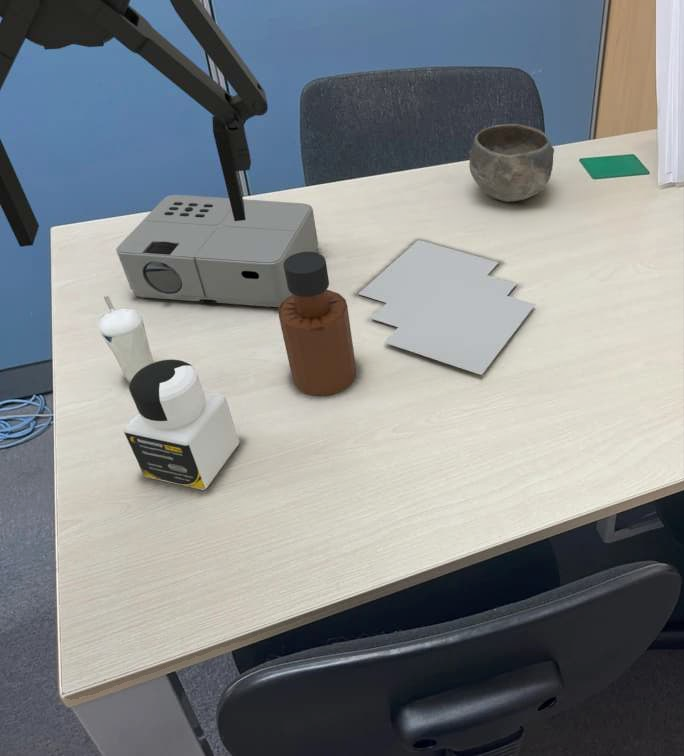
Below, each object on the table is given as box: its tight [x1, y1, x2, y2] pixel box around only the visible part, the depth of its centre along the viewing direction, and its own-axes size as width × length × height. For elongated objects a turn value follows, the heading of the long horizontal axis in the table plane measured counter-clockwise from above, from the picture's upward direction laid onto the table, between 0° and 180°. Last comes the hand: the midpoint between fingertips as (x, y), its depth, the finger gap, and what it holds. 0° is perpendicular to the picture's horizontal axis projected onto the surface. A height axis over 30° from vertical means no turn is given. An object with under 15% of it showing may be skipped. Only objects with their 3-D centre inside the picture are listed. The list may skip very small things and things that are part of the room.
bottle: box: [277, 289, 357, 397], centre depth 82 cm, size 8×8×13 cm
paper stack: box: [357, 239, 536, 376], centre depth 98 cm, size 23×25×1 cm
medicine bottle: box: [123, 358, 240, 491], centre depth 71 cm, size 7×7×12 cm
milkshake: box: [97, 294, 155, 384], centre depth 82 cm, size 4×5×10 cm
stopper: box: [283, 252, 330, 297], centre depth 78 cm, size 4×4×7 cm
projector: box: [116, 194, 319, 309], centre depth 100 cm, size 17×22×8 cm
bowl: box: [468, 123, 555, 203], centre depth 121 cm, size 14×15×10 cm
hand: (138, 224), depth 50 cm, fingers open, 13 cm apart
